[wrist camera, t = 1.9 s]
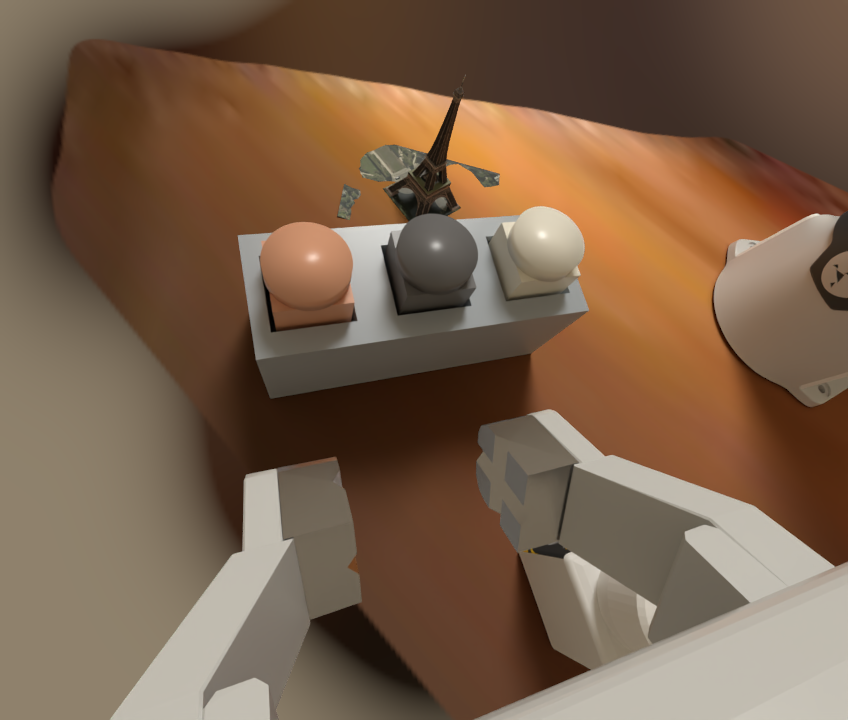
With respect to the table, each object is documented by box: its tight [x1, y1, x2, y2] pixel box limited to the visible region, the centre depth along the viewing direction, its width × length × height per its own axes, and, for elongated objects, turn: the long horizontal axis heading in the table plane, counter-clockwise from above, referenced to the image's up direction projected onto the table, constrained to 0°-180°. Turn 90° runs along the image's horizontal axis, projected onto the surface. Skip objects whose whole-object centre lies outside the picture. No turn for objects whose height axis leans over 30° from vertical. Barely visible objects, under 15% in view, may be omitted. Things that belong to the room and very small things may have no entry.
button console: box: [238, 215, 589, 399], centre depth 33 cm, size 22×8×9 cm, turn 104°
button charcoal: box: [384, 214, 478, 316], centre depth 30 cm, size 5×5×8 cm
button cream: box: [488, 206, 585, 301], centre depth 32 cm, size 5×5×8 cm
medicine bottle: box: [519, 541, 657, 670], centre depth 28 cm, size 7×7×12 cm
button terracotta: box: [260, 222, 355, 332], centre depth 27 cm, size 5×5×8 cm
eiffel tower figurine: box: [338, 76, 500, 221], centre depth 37 cm, size 15×10×13 cm
